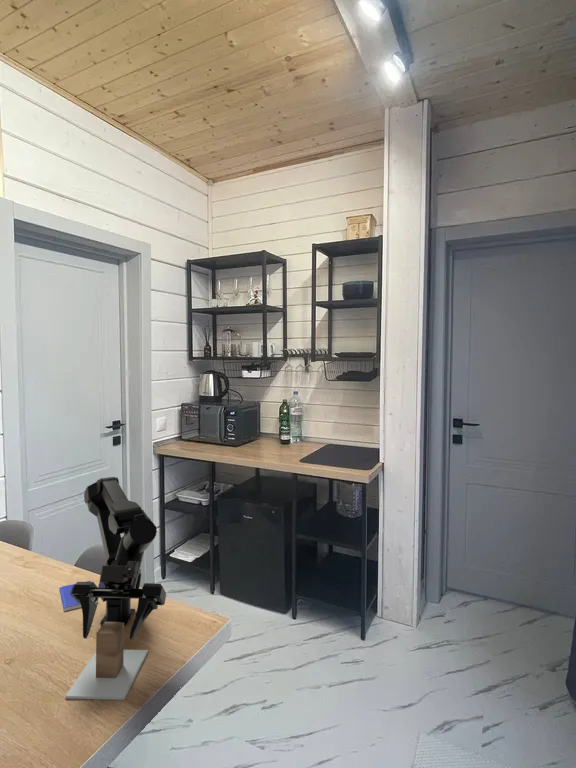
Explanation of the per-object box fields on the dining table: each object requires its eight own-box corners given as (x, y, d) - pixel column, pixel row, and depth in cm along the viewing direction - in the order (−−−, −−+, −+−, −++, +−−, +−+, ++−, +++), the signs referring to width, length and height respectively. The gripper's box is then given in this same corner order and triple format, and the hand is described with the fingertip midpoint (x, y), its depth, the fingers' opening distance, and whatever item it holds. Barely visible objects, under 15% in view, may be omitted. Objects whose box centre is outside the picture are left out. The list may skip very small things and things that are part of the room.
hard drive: (98, 599, 116) (91, 580, 126) (63, 607, 112) (59, 586, 122) (98, 605, 116) (90, 585, 126) (63, 613, 112) (59, 592, 122)
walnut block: (104, 664, 91) (104, 621, 91) (123, 664, 91) (124, 622, 91) (95, 677, 87) (96, 633, 87) (115, 678, 87) (116, 633, 87)
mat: (97, 651, 96) (97, 648, 96) (147, 652, 96) (147, 650, 96) (65, 698, 82) (65, 695, 82) (124, 699, 82) (124, 697, 82)
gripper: (75, 544, 92) (45, 626, 82) (163, 546, 93) (145, 628, 82) (91, 564, 101) (66, 641, 90) (172, 566, 101) (157, 643, 90)
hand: (107, 638), depth 88 cm, fingers open, 9 cm apart
